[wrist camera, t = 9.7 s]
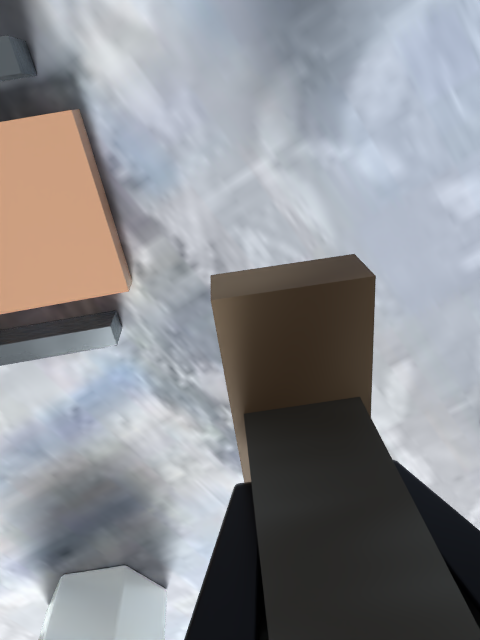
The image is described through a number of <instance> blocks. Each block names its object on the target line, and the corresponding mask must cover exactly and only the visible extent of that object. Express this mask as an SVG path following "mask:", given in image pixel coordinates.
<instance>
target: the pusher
mask: <svg viewBox="0 0 480 640" xmlns="http://www.w3.org/2000/svg"><path fill="white" fill-rule="evenodd" d="M375 279H376V276H375V275H374V274H373V273H372V272H371V271H370V270H369V269H368V268H367V267H366V266H365V264H364V263H363V262H362V261H361V260H360V259H359V258H358V257H357V256H356V255H355V254H351V255H344V256H338V257H331V258H324V259H317V260H311V261H304V262H297V263H290V264H284V265H277V266H270V267H263V268H257V269H250V270H243V271H236V272H230V273H223V274H216V275H211V304H212V309H213V315H214V320H215V326H216V331H217V337H218V342H219V347H220V353H221V358H222V364H223V369H224V375H225V380H226V385H227V391H228V396H229V402H230V407H231V413H232V418H233V423H234V429H235V434H236V440H237V445H238V450H239V456H240V461H241V467H242V472H243V478H244V483H245V482H251V484H252V493H253V502H254V511H255V520H256V529H257V537H258V546H259V555H260V564H261V573H262V582H263V591H264V600H265V609H266V618H267V627H268V636H269V640H480V629H479V627H478V625H477V623H476V621H475V619H474V617H473V615H472V614H471V612H470V610H469V608H468V606H467V604H466V602H465V600H464V598H463V596H462V594H461V592H460V590H459V588H458V586H457V584H456V582H455V581H454V579H453V577H452V575H451V573H450V571H449V569H448V567H447V565H446V563H445V561H444V559H443V557H442V555H441V553H440V551H439V549H438V548H437V546H436V544H435V542H434V540H433V538H432V536H431V534H430V532H429V530H428V528H427V526H426V524H425V522H424V520H423V518H422V516H421V515H420V513H419V511H418V509H417V507H416V505H415V503H414V501H413V499H412V497H411V495H410V493H409V491H408V489H407V487H406V485H405V483H404V481H403V480H402V478H401V476H400V474H399V472H398V470H397V468H396V466H395V464H394V462H393V460H392V458H391V456H390V454H389V452H388V450H387V448H386V447H385V445H384V443H383V441H382V439H381V437H380V435H379V433H378V431H377V429H376V427H375V425H374V423H373V421H372V419H371V393H372V364H373V336H374V307H375Z"/></svg>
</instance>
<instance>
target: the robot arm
mask: <svg viewBox="0 0 480 640" xmlns="http://www.w3.org/2000/svg"><path fill="white" fill-rule="evenodd" d="M393 462H394V464H395V466H396V468H397V470H398V472H399V474H400V476H401V478H402V480H403V481H404V483H405V485H406V487H407V489H408V491H409V493H410V495H411V497H412V499H413V501H414V503H415V505H416V507H417V509H418V511H419V513H420V515H421V516H422V518H423V520H424V522H425V524H426V526H427V528H428V530H429V532H430V534H431V536H432V538H433V540H434V542H435V544H436V546H437V548H438V549H439V551H440V553H441V555H442V557H443V559H444V561H445V563H446V565H447V567H448V569H449V571H450V573H451V575H452V577H453V579H454V581H455V582H456V584H457V586H458V588H459V590H460V592H461V594H462V596H463V598H464V600H465V602H466V604H467V606H468V608H469V610H470V612H471V614H472V615H473V617H474V619H475V621H476V623H477V625H478V627H479V629H480V531H479V530H478V529H477V528H476V527H475V526H473V525H472V524H471V523H470V522H469V521H467V520H466V519H465V518H464V517H463V516H462V515H460V514H459V513H458V512H457V511H456V510H454V509H453V508H452V507H451V506H450V505H448V504H447V503H446V502H445V501H444V500H442V499H441V498H440V497H439V496H438V495H437V494H435V493H434V492H433V491H432V490H431V489H429V488H428V487H427V486H426V485H425V484H423V483H422V482H421V481H420V480H419V479H417V478H416V477H415V476H414V475H413V474H412V473H410V472H409V471H408V470H407V469H406V468H404V467H403V466H402V465H401V464H400V463H398V462H397V461H395V460H393ZM184 640H269V636H268V627H267V618H266V609H265V600H264V591H263V582H262V573H261V564H260V555H259V546H258V537H257V529H256V520H255V511H254V502H253V493H252V484H251V482H245V483H239V484H236V485H235V487H234V489H233V492H232V495H231V498H230V501H229V505H228V508H227V511H226V514H225V517H224V520H223V523H222V526H221V529H220V532H219V535H218V538H217V541H216V544H215V547H214V550H213V553H212V556H211V559H210V563H209V566H208V569H207V572H206V575H205V578H204V581H203V584H202V587H201V590H200V593H199V596H198V599H197V602H196V605H195V608H194V611H193V614H192V617H191V620H190V624H189V627H188V630H187V633H186V636H185V639H184Z"/></svg>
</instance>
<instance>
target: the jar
mask: <svg viewBox="0 0 480 640" xmlns="http://www.w3.org/2000/svg"><path fill="white" fill-rule="evenodd" d="M166 604H167V590H166V589H165V588H163V587H162V586H160V585H158V584H157V583H155V582H153V581H151V580H150V579H148V578H146V577H145V576H143V575H141V574H140V573H138V572H136V571H135V570H133V569H131V568H129V567H128V566H125V565H123V566H117V567H111V568H104V569H97V570H91V571H84V572H78V573H71V574H65V575H63V576H62V577H61V578H60V581H59V583H58V585H57V588H56V590H55V593H54V595H53V597H52V600H51V602H50V604H49V607H48V609H47V612H46V616H45V619H44V622H43V626H42V629H41V633H40V636H39V639H38V640H165V622H166Z"/></svg>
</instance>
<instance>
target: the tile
mask: <svg viewBox="0 0 480 640" xmlns="http://www.w3.org/2000/svg"><path fill="white" fill-rule="evenodd" d="M131 284H132V279H131V275H130V272H129V269H128V266H127V262H126V259H125V256H124V253H123V249H122V246H121V243H120V240H119V237H118V233H117V230H116V227H115V224H114V220H113V217H112V214H111V211H110V207H109V204H108V201H107V198H106V194H105V191H104V188H103V185H102V181H101V178H100V175H99V172H98V168H97V165H96V162H95V159H94V155H93V152H92V149H91V146H90V142H89V139H88V136H87V133H86V130H85V126H84V123H83V120H82V117H81V113H80V110H79V109H75V110H68V111H62V112H56V113H50V114H44V115H38V116H32V117H27V118H21V119H15V120H9V121H3V122H0V314H5V313H11V312H16V311H22V310H27V309H33V308H38V307H44V306H50V305H55V304H61V303H66V302H72V301H78V300H83V299H89V298H94V297H100V296H105V295H111V294H117V293H122V292H128V291H129V290H130V287H131Z"/></svg>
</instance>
